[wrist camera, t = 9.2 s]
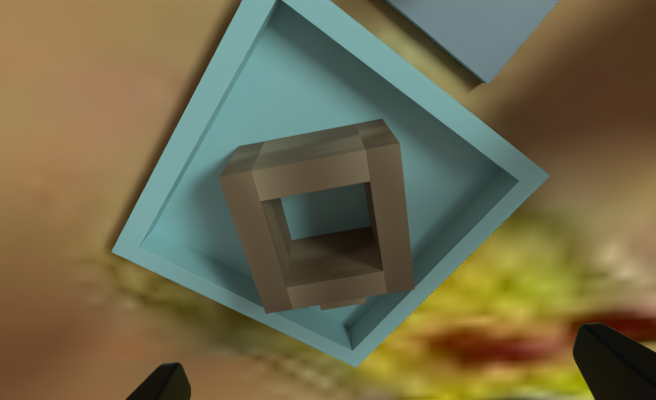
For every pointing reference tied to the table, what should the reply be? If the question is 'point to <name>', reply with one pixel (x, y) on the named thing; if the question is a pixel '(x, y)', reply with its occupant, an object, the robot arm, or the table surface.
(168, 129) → the table surface
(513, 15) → the grey square knobbed piece
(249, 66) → the tray
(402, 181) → the walnut square frame
